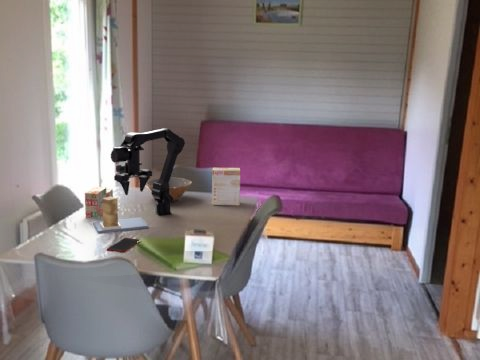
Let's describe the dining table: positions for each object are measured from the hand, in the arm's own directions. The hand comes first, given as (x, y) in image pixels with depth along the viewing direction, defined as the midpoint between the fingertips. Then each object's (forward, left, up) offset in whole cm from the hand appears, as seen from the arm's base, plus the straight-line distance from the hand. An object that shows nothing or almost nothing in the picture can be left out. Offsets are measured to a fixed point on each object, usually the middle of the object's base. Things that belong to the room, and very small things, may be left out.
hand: (134, 193), depth 226 cm
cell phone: (+12, +33, -14) cm, 38 cm away
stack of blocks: (+12, -20, -13) cm, 27 cm away
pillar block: (+13, +10, -12) cm, 20 cm away
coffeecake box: (-53, -13, -13) cm, 56 cm away
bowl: (-27, -32, -13) cm, 44 cm away
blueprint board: (+8, +7, -13) cm, 17 cm away
